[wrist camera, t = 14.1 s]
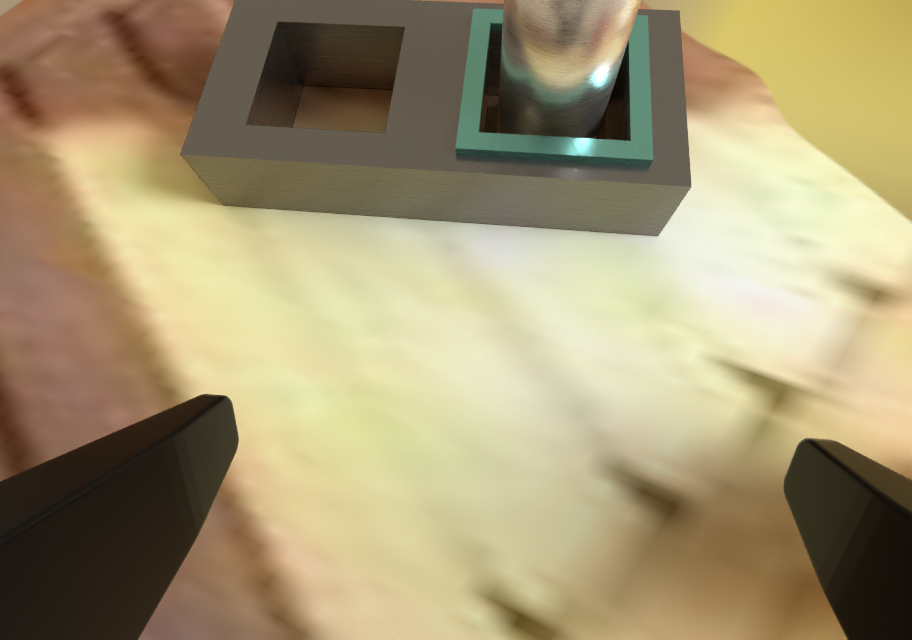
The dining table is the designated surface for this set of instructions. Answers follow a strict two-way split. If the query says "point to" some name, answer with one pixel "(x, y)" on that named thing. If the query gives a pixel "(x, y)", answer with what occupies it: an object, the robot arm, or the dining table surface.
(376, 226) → the dining table surface
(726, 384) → the dining table surface
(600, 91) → the steel sleeve
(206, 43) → the dining table surface
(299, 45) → the jig plate
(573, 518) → the dining table surface
